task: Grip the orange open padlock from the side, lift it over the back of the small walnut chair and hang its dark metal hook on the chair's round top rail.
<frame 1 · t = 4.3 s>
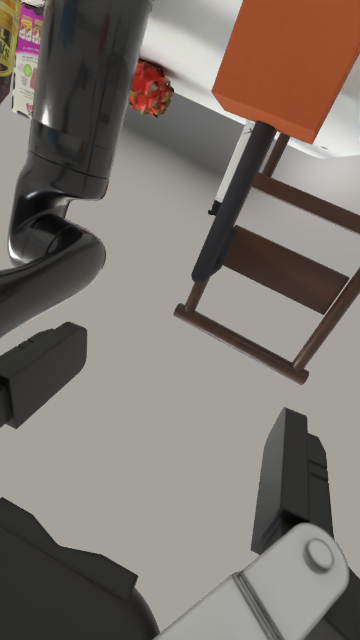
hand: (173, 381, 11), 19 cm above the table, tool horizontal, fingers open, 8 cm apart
dragon fruit: (152, 64, 54), on the table
travel mug: (263, 119, 58), on the table
candy bar box: (54, 16, 51), on the table
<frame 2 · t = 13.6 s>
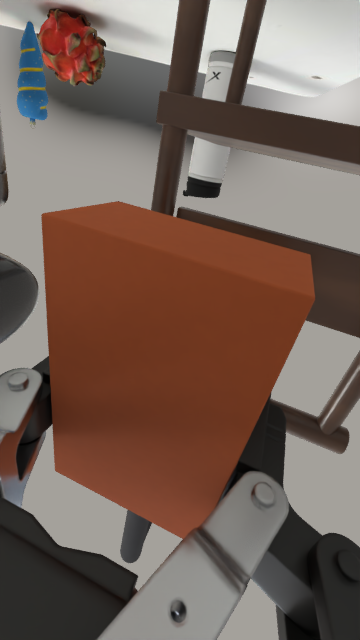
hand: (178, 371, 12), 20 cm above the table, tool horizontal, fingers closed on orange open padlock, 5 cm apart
dragon fruit: (71, 13, 41), on the table
travel mug: (230, 56, 44), on the table
orange open padlock: (189, 235, 7), point 14 cm above the table, touching gripper
ornament: (28, 19, 48), on the table
when the fingers open (15 cm above the table, at t = 17.4 s): orange open padlock moves 1 cm, resting on chair.
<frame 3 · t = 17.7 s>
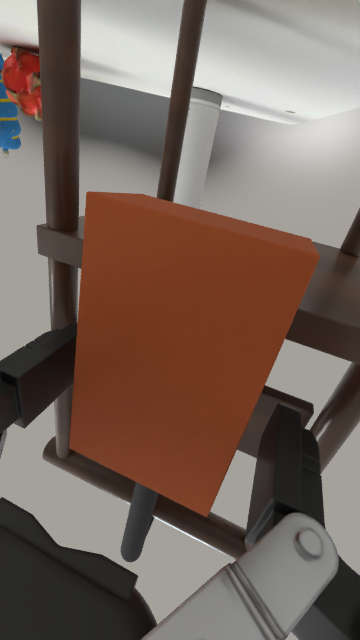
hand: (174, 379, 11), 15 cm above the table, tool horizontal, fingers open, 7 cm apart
dragon fruit: (34, 49, 40), on the table
travel mug: (200, 90, 42), on the table
orange open padlock: (209, 217, 8), point 9 cm above the table, touching chair
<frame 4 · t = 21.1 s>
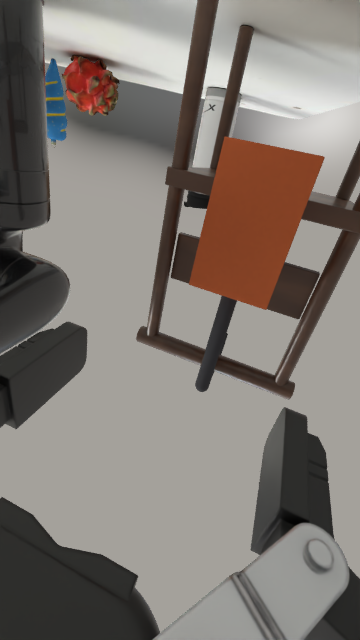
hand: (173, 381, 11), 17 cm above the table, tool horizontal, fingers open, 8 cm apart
dragon fruit: (90, 57, 49), on the table
travel mug: (223, 90, 52), on the table
orange open padlock: (274, 150, 17), point 9 cm above the table, touching chair
chair: (328, 6, 19), on the table
ornament: (52, 57, 56), on the table
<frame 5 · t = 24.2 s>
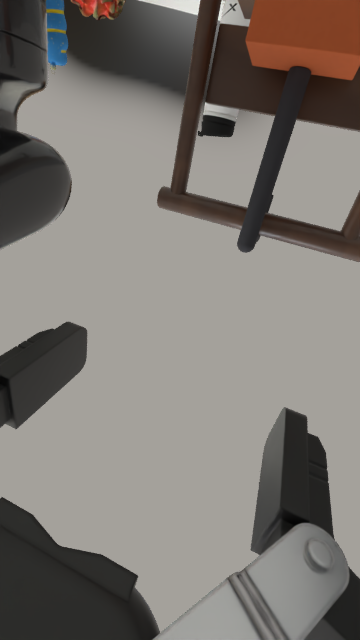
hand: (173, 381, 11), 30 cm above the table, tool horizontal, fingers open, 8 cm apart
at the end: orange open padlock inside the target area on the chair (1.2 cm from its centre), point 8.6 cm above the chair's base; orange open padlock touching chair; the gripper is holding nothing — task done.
